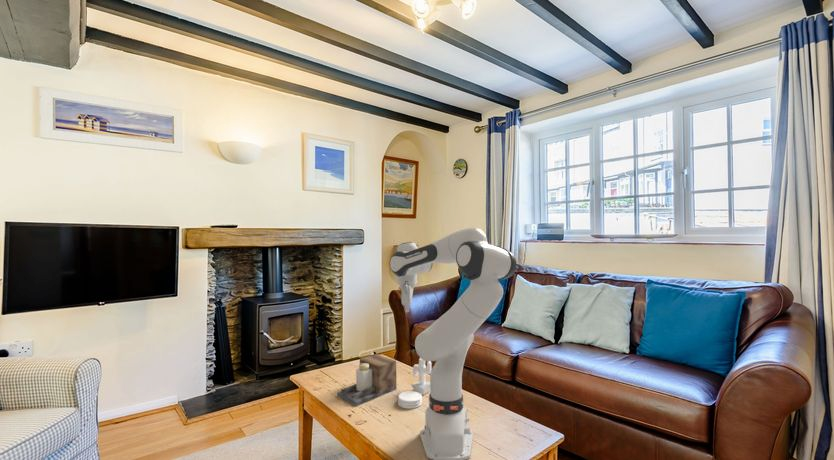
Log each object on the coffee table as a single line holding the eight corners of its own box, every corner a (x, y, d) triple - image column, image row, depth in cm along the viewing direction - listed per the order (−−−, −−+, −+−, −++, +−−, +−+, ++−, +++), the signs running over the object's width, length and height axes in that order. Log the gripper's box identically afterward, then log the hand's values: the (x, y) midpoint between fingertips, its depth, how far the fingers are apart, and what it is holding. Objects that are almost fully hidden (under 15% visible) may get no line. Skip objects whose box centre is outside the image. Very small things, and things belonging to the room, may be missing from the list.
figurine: (418, 386, 173) (418, 354, 173) (435, 391, 168) (435, 358, 168) (409, 392, 168) (408, 358, 168) (426, 397, 162) (425, 362, 162)
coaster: (423, 399, 161) (423, 390, 161) (420, 410, 151) (420, 401, 151) (400, 398, 162) (400, 390, 162) (396, 409, 152) (396, 400, 152)
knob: (363, 393, 163) (363, 367, 163) (356, 389, 166) (356, 365, 166) (372, 389, 167) (372, 364, 167) (365, 386, 170) (365, 362, 170)
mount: (356, 406, 155) (356, 374, 155) (337, 396, 165) (336, 366, 165) (396, 389, 171) (396, 360, 171) (376, 380, 181) (376, 353, 181)
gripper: (413, 282, 152) (413, 317, 152) (415, 276, 173) (415, 306, 173) (397, 283, 152) (398, 317, 152) (401, 276, 173) (401, 306, 173)
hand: (407, 311), depth 163 cm, fingers closed
